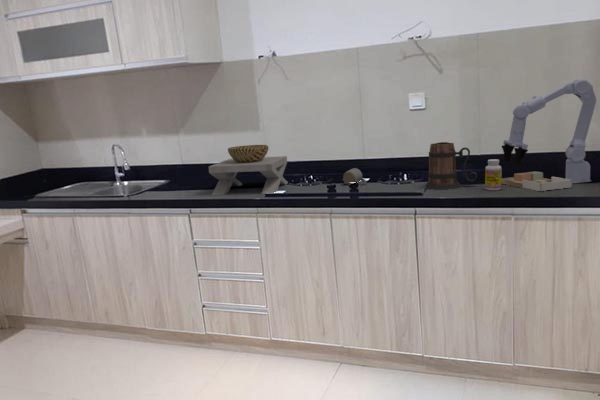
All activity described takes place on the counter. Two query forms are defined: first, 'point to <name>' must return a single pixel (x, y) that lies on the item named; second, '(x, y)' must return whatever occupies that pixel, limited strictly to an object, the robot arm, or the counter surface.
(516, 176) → the tile terracotta
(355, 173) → the ceramic mug
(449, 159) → the tankard
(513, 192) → the counter surface
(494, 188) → the supplement bottle
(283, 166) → the grey wooden stool
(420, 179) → the counter surface
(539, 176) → the tile sage
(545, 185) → the box
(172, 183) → the counter surface
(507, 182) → the oak board
